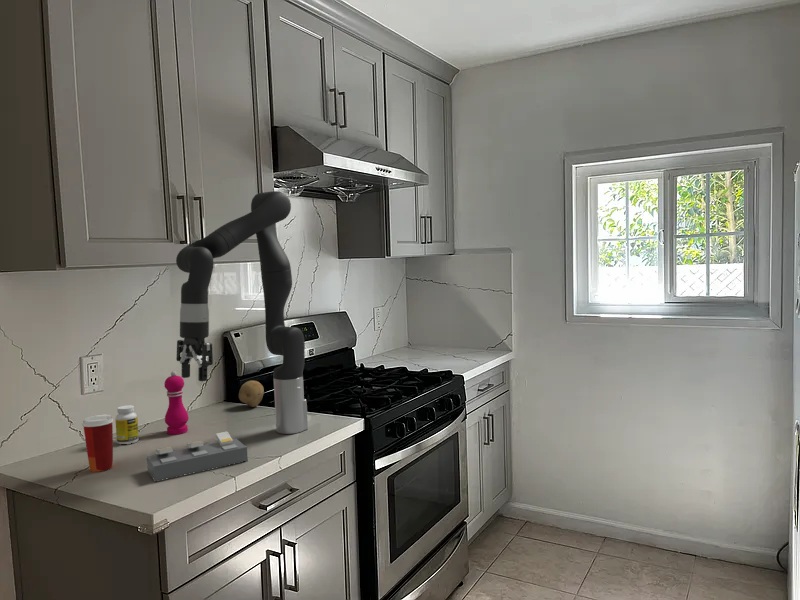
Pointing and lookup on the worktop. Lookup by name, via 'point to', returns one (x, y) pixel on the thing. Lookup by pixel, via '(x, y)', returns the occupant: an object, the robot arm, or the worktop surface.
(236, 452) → the rocker switch box
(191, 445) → the rocker middle
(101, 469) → the paper cup
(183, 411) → the pepper mill
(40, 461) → the worktop surface
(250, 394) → the brown potato
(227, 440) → the rocker
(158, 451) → the rocker
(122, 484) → the worktop surface
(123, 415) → the pill bottle
